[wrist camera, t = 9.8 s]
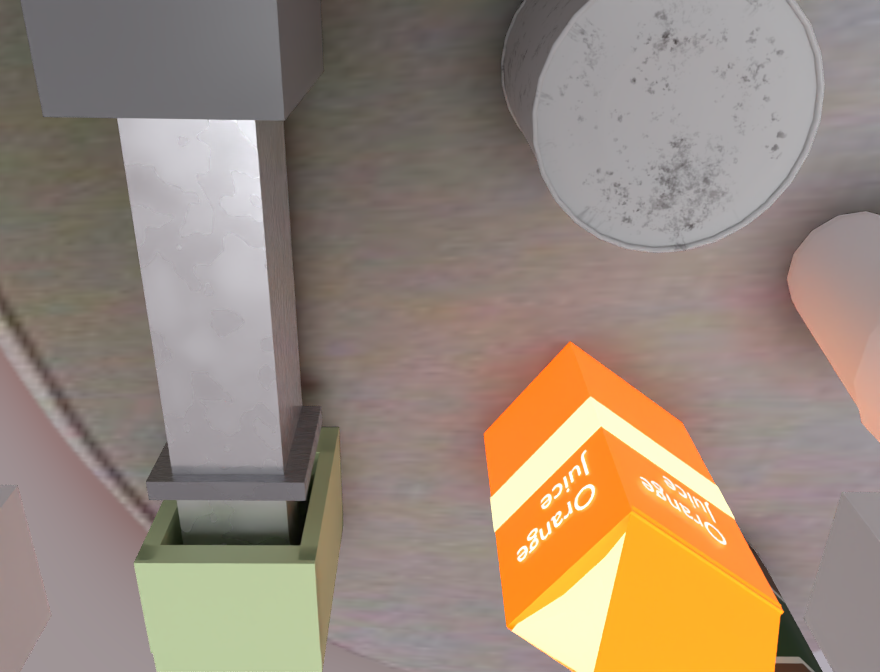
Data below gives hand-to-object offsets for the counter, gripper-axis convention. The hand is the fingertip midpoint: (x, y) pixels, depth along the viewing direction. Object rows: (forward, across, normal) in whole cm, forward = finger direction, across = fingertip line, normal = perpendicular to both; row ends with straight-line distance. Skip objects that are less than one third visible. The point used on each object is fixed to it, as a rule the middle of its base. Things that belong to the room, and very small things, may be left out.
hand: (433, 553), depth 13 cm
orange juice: (+29, +9, -16) cm, 34 cm away
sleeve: (+29, -9, +8) cm, 31 cm away
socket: (+29, -9, -20) cm, 36 cm away
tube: (+26, -9, -8) cm, 28 cm away
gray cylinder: (+29, +8, +4) cm, 30 cm away
